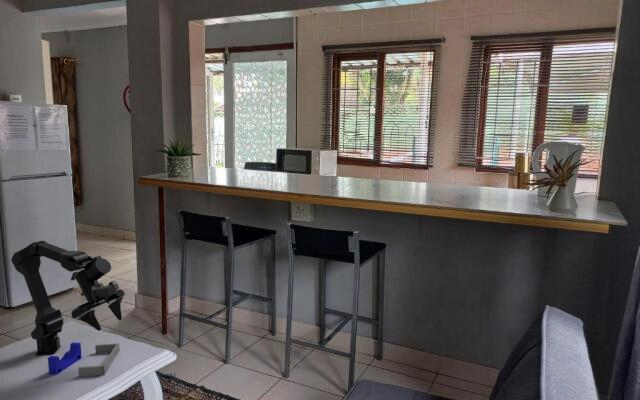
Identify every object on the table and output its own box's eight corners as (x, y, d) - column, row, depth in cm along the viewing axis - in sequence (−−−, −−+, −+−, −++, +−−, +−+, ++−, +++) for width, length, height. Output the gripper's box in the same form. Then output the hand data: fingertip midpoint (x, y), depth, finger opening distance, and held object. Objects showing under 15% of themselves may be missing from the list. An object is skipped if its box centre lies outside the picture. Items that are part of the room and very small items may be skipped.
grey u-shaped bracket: (78, 376, 153) (78, 368, 153) (96, 352, 171) (95, 344, 170) (104, 374, 154) (104, 366, 154) (119, 350, 172) (119, 343, 171)
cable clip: (70, 357, 167) (69, 341, 166) (81, 358, 166) (80, 342, 165) (45, 374, 155) (43, 357, 155) (56, 375, 154) (55, 358, 154)
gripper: (81, 283, 148) (103, 326, 147) (124, 268, 165) (144, 306, 164) (61, 298, 152) (82, 339, 151) (105, 281, 170) (125, 318, 168)
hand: (110, 325), depth 159 cm, fingers open, 9 cm apart
